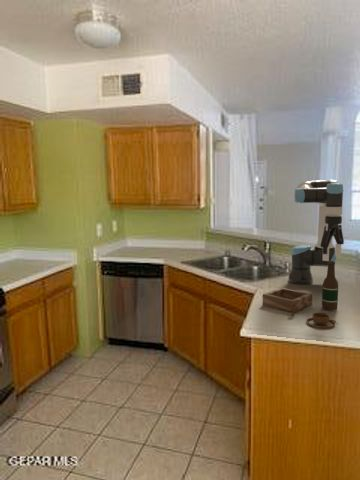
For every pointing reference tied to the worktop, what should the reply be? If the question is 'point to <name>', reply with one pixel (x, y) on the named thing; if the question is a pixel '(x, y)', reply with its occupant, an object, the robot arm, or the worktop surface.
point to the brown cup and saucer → (317, 319)
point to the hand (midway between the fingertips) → (331, 258)
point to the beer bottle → (330, 289)
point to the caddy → (287, 299)
